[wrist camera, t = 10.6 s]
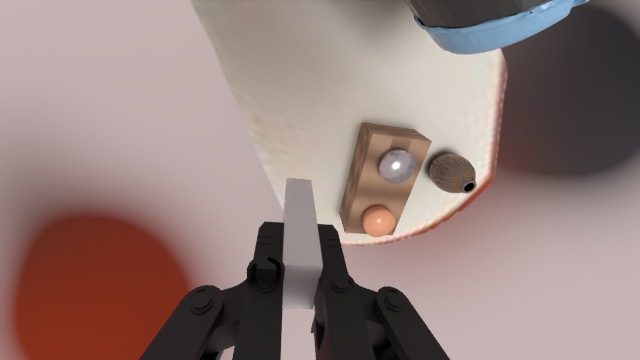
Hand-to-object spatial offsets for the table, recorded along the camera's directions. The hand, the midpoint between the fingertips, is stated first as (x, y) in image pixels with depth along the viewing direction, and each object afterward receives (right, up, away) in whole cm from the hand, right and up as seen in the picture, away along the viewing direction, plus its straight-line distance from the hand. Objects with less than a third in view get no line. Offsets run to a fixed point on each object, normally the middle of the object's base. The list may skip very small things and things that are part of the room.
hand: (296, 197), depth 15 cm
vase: (+26, +4, +31) cm, 41 cm away
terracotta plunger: (+12, -4, +32) cm, 34 cm away
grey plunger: (+13, +6, +27) cm, 31 cm away
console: (+12, +2, +31) cm, 33 cm away
